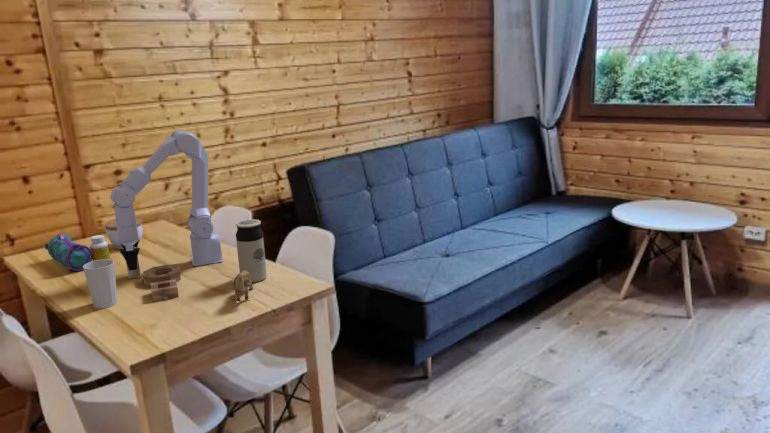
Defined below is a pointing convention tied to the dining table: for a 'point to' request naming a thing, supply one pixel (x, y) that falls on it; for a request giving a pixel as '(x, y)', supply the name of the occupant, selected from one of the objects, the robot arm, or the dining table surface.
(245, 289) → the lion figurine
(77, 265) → the pencil case
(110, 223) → the lidded bowl
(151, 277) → the brown faceted ring
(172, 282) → the threaded bead
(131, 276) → the brown and teal block
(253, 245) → the travel mug
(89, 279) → the cup
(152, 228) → the dining table surface
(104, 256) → the supplement bottle
